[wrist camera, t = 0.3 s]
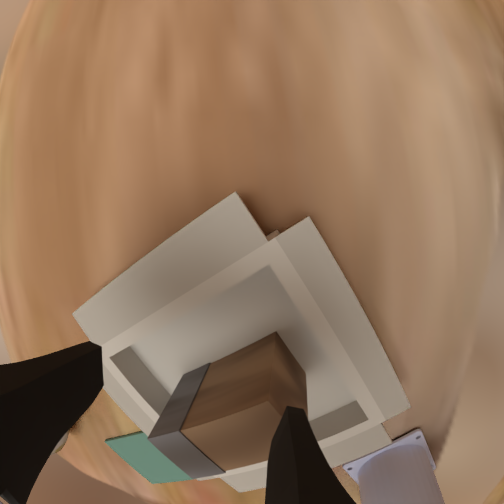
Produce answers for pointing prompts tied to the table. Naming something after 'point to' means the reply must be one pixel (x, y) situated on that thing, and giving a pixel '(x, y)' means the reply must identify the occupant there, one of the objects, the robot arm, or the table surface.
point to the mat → (146, 458)
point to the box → (230, 409)
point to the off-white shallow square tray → (245, 328)
